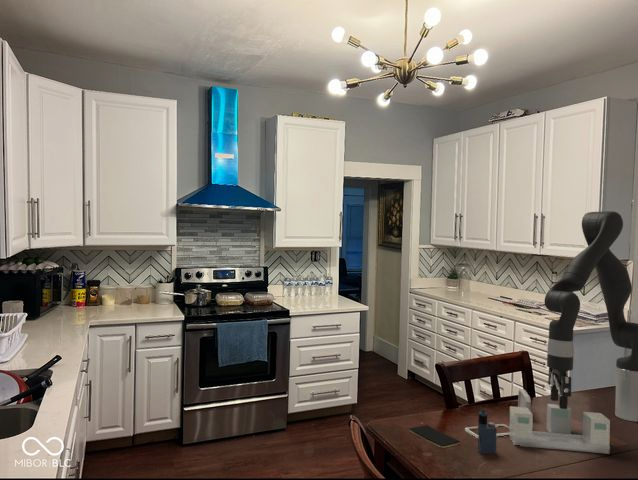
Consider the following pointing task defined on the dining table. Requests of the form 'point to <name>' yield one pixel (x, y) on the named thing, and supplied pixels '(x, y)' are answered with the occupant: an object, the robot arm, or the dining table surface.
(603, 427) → the white u-shaped block
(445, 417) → the dining table surface
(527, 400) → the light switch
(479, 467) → the dining table surface
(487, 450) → the vaping device
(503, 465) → the dining table surface
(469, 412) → the dining table surface
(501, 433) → the white rectangular frame
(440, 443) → the smartphone
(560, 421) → the grey module
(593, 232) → the robot arm
